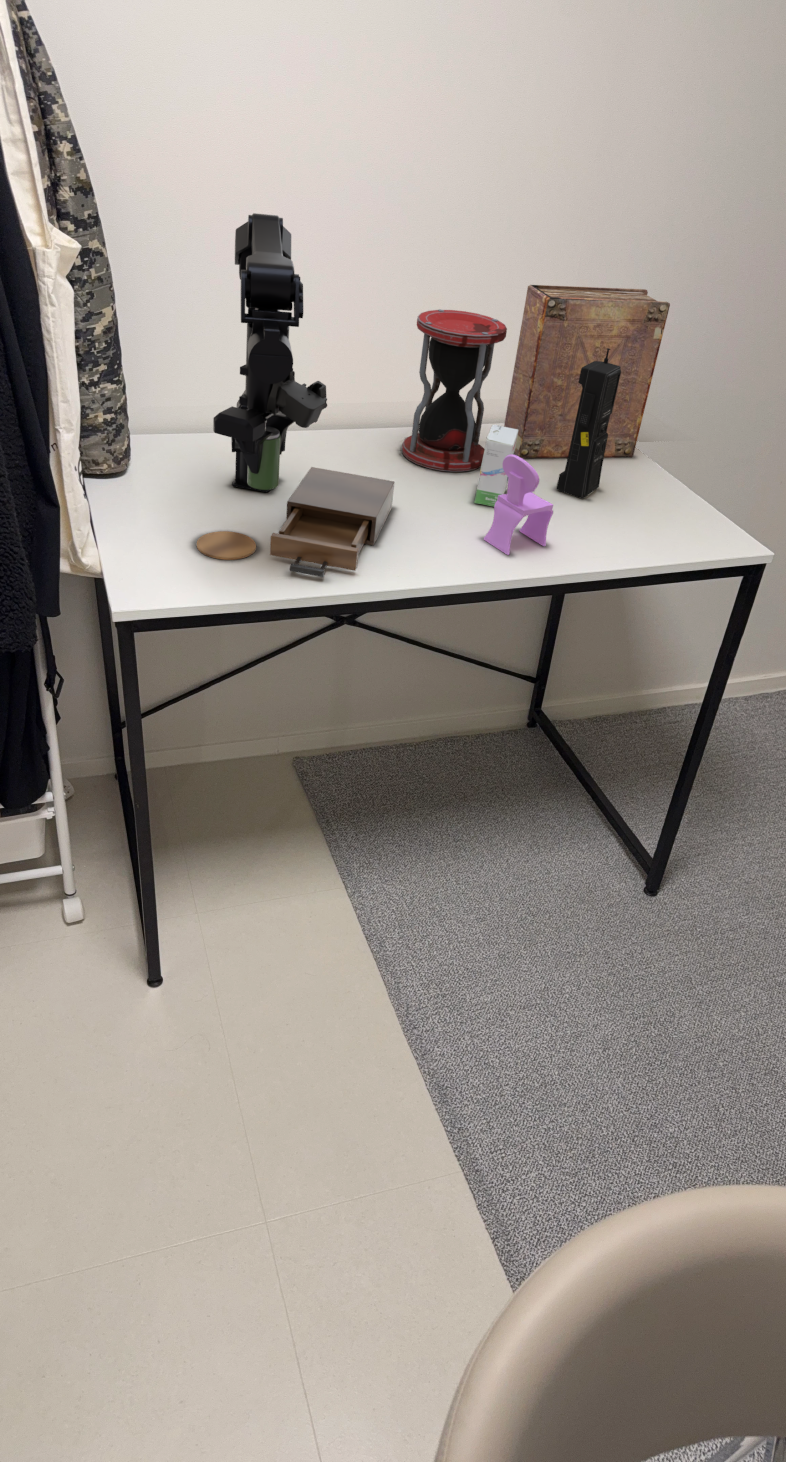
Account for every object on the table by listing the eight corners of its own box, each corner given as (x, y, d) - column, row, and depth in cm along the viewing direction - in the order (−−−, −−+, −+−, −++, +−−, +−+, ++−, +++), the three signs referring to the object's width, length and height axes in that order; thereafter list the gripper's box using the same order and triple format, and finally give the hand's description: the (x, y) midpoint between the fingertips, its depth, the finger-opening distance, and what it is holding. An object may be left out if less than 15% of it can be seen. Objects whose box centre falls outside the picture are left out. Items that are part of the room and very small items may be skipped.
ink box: (479, 486, 190) (490, 422, 183) (507, 491, 190) (519, 427, 183) (473, 503, 183) (484, 438, 176) (502, 509, 183) (514, 443, 176)
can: (268, 492, 152) (271, 439, 147) (241, 484, 153) (242, 431, 149) (284, 482, 156) (286, 430, 151) (257, 474, 157) (258, 422, 152)
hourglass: (430, 476, 191) (449, 336, 177) (386, 444, 202) (400, 310, 188) (501, 467, 199) (525, 332, 184) (455, 437, 210) (474, 307, 195)
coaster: (188, 553, 157) (188, 551, 156) (207, 529, 164) (207, 527, 164) (246, 564, 156) (246, 561, 156) (263, 539, 163) (263, 537, 163)
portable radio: (583, 502, 189) (614, 362, 175) (553, 492, 192) (581, 353, 177) (599, 489, 195) (631, 353, 180) (570, 480, 197) (599, 345, 183)
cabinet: (373, 545, 165) (376, 517, 163) (285, 529, 167) (287, 501, 164) (391, 508, 178) (394, 481, 175) (309, 493, 179) (311, 466, 176)
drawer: (349, 583, 153) (351, 562, 151) (262, 567, 154) (263, 546, 152) (374, 533, 168) (376, 513, 166) (294, 519, 169) (295, 499, 167)
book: (612, 440, 218) (648, 289, 201) (633, 457, 211) (672, 302, 194) (500, 441, 211) (528, 284, 193) (518, 458, 204) (548, 297, 186)
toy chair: (551, 548, 172) (570, 460, 163) (511, 557, 167) (529, 468, 159) (518, 527, 177) (535, 442, 168) (479, 536, 172) (494, 449, 164)
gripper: (286, 390, 135) (280, 503, 144) (348, 357, 149) (340, 462, 158) (211, 371, 138) (210, 482, 147) (280, 340, 152) (275, 444, 161)
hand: (263, 467), depth 153 cm, fingers closed on can, 4 cm apart
